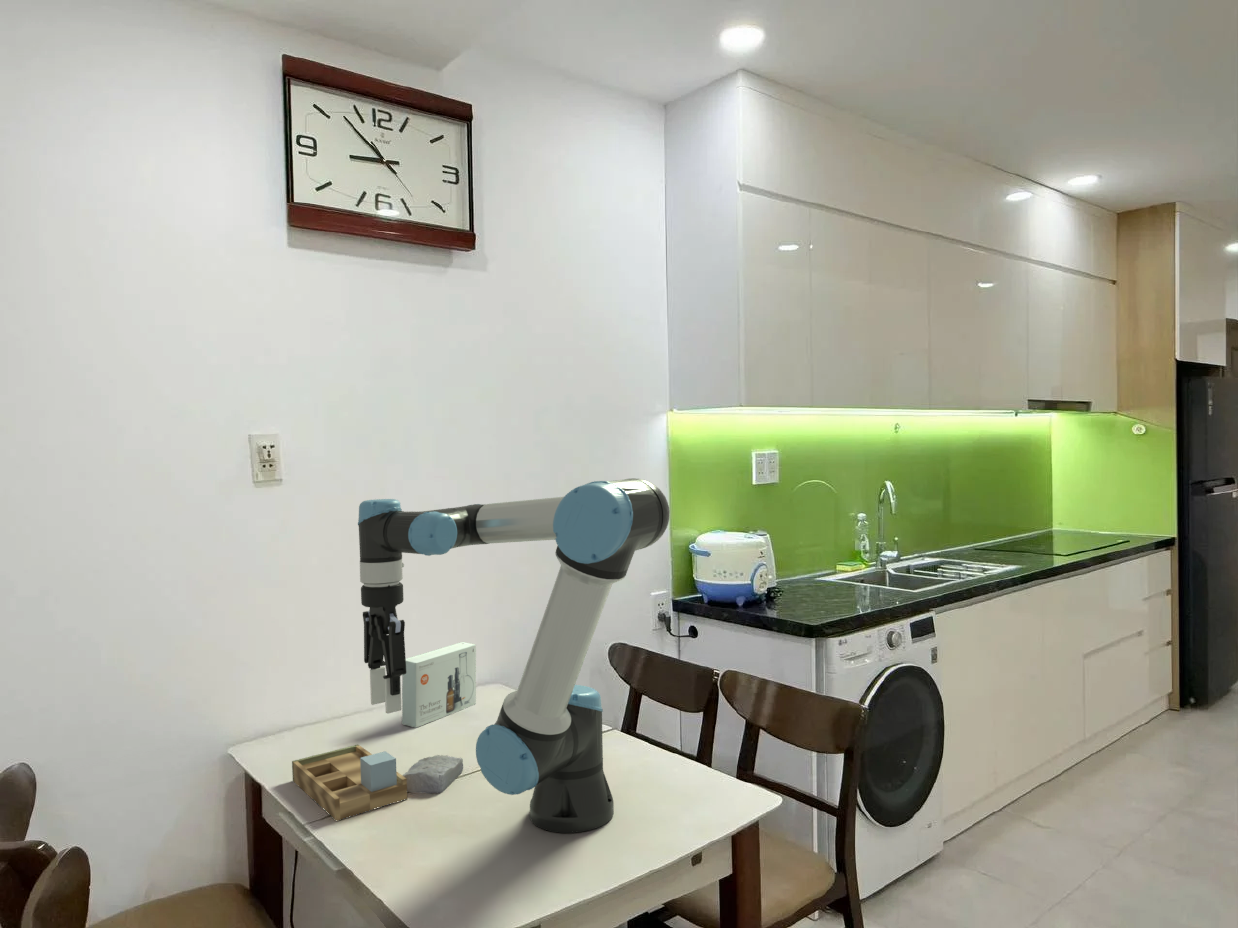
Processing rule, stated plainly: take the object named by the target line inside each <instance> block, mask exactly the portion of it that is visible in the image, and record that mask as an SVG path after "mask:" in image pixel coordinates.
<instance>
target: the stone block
mask: <svg viewBox="0 0 1238 928" xmlns="http://www.w3.org/2000/svg"><path fill="white" fill-rule="evenodd" d="M463 762H464V761H463V758H462V757H455V756H449V755H448V754H447V755H444V754H441V755H440V754H437V755H433V756H428V757H423V758H421V759H419V760H417V762H415V763H414V764H413V765H411V767H409V768H408V770H407V771H406V772H404V773H403V774H401V775H402V776H404V777H405V778H406V779H407V791H409V793H412V794H413V793H416V794H417V793H419V794H422V793H423V794H425V793H426V794H442V793H443V792H445V790H447V788H448V787H449V786H450V785H451V784H452V783H453V782H455V780H456V779H457V778H459V776H460V775H461V774H462V773H463V770H464V763H463Z"/></svg>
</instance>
